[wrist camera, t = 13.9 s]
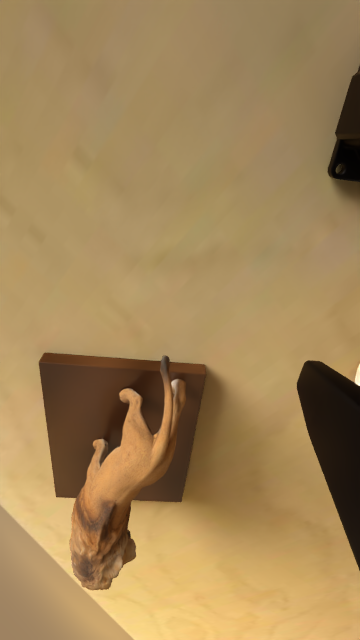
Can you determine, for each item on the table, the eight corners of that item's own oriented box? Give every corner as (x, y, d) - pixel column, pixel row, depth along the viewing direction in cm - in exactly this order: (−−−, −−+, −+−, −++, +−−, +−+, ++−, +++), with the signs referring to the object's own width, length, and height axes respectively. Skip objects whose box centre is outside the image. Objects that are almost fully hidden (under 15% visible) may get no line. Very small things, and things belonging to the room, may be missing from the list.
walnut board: (204, 364, 24) (206, 374, 23) (181, 490, 32) (181, 502, 31) (44, 352, 23) (38, 362, 22) (59, 485, 31) (55, 497, 30)
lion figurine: (138, 481, 29) (127, 606, 22) (80, 469, 28) (46, 596, 20) (198, 360, 23) (214, 476, 15) (126, 339, 22) (101, 451, 14)
